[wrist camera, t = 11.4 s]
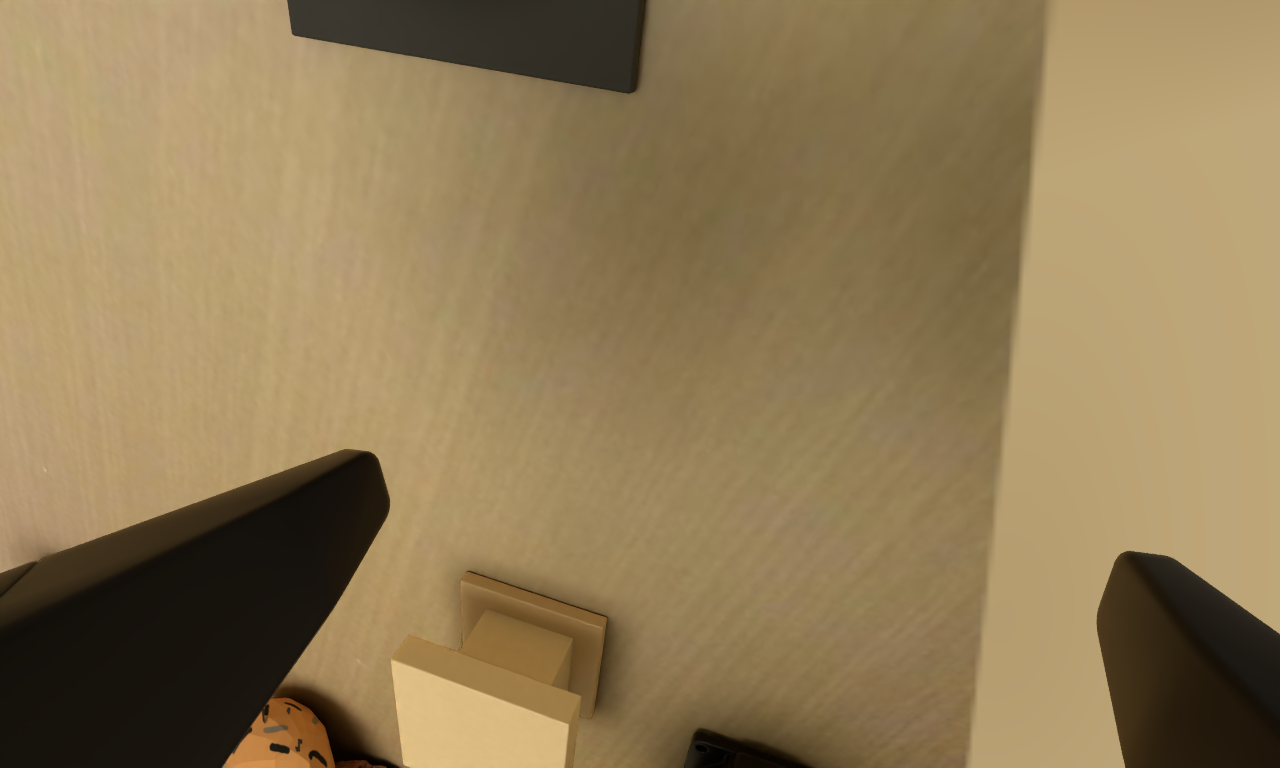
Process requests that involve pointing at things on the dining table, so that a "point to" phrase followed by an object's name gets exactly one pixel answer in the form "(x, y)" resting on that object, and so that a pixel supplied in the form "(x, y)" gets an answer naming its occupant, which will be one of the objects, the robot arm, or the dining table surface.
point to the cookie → (355, 764)
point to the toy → (283, 739)
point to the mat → (492, 34)
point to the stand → (500, 683)
